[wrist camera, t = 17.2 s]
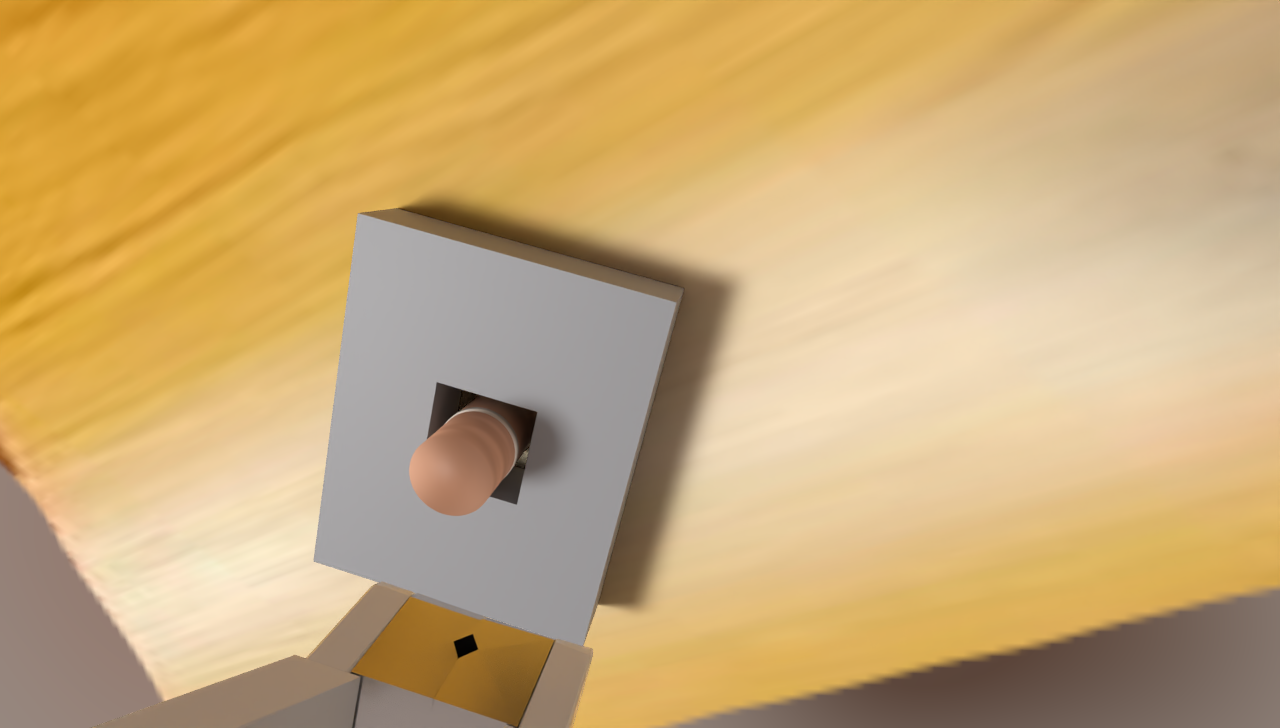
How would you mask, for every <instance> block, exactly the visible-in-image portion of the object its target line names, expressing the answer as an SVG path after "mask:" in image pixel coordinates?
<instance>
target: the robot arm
mask: <svg viewBox="0 0 1280 728" xmlns="http://www.w3.org/2000/svg"><path fill="white" fill-rule="evenodd" d="M592 657H593V649H591V648H588V647H584V646H581V645H578V644H574V643H571V642H567V641H564V640H561V639H554V638H550V637H547V636H544V635H541V634H538V633H535V632H531V631H528V630H525V629H522V628H519V627H516V626H512V625H509V624H506V623H503V622H500V621H497V620H493V619H490V618H487V617H485V616H482V615H479V614H476V613H474V612H471V611H468V610H465V609H462V608H459V607H456V606H453V605H451V604H448V603H445V602H442V601H439V600H436V599H433V598H431V597H428V596H425V595H422V594H419V593H416V594H415V593H414V592H412V591H409V590H406V589H403V588H400V587H397V586H394V585H391V584H388V583H385V582H382V581H381V582H379V583H377V584H375V585H373V586H371V588H370V589H369V590H368V591H367V592H366V593H365V594H364V595H363V596H362V597H361V598H360V600H359V601H358V602H357V603H356V604H355V605H354V606H353V607H352V608H351V609H350V611H349V612H348V613H347V614H346V615H345V616H344V617H343V618H342V619H341V620H340V622H339V623H338V624H337V625H336V626H335V627H334V628H333V629H332V630H331V631H330V633H329V634H328V635H327V636H326V637H325V638H324V639H323V640H322V641H321V642H320V643H319V645H318V646H317V647H316V648H315V649H314V650H313V651H312V652H311V653H310V654H309V656H308V657H307V658H303V657H300V656H297V655H293V656H291V657H288V658H285V659H282V660H279V661H277V662H274V663H271V664H268V665H265V666H263V667H260V668H257V669H254V670H251V671H248V672H246V673H243V674H240V675H237V676H234V677H232V678H229V679H226V680H223V681H220V682H218V683H215V684H212V685H209V686H206V687H204V688H201V689H198V690H195V691H192V692H190V693H187V694H184V695H181V696H178V697H176V698H173V699H170V700H167V701H164V702H161V703H159V704H156V705H153V706H150V707H148V708H145V709H142V710H139V711H136V712H133V713H131V714H128V715H125V716H122V717H119V718H117V719H114V720H111V721H108V722H105V723H103V724H100V725H97V726H94V727H91V728H572V727H573V724H574V720H575V717H576V713H577V710H578V706H579V703H580V699H581V696H582V692H583V689H584V685H585V682H586V678H587V674H588V671H589V667H590V664H591V660H592Z"/></svg>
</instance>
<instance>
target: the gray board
mask: <svg viewBox="0 0 1280 728" xmlns="http://www.w3.org/2000/svg"><path fill="white" fill-rule="evenodd" d="M683 292H684V288H681V287H678V286H674V285H671V284H667V283H663V282H660V281H656V280H653V279H649V278H645V277H642V276H638V275H635V274H631V273H628V272H624V271H620V270H617V269H613V268H610V267H606V266H602V265H599V264H595V263H592V262H588V261H584V260H581V259H577V258H574V257H570V256H566V255H563V254H559V253H556V252H552V251H549V250H545V249H541V248H538V247H534V246H531V245H527V244H523V243H520V242H516V241H513V240H509V239H505V238H502V237H498V236H495V235H491V234H488V233H484V232H480V231H477V230H473V229H470V228H466V227H462V226H459V225H455V224H452V223H448V222H444V221H441V220H437V219H434V218H430V217H427V216H423V215H419V214H416V213H412V212H409V211H405V210H401V209H398V208H396V209H388V210H380V211H372V212H364V213H358V217H357V225H356V233H355V241H354V248H353V256H352V264H351V272H350V280H349V288H348V295H347V303H346V311H345V319H344V327H343V335H342V343H341V350H340V358H339V366H338V374H337V382H336V390H335V398H334V405H333V413H332V421H331V429H330V437H329V445H328V452H327V460H326V468H325V476H324V484H323V492H322V500H321V507H320V515H319V523H318V531H317V539H316V547H315V555H314V562H317V563H320V564H323V565H326V566H329V567H333V568H336V569H339V570H342V571H345V572H348V573H351V574H354V575H358V576H361V577H364V578H367V579H370V580H373V581H376V582H381V581H382V582H385V583H388V584H391V585H394V586H397V587H400V588H403V589H406V590H409V591H412V592H414V593H415V594H416V593H419V594H422V595H425V596H428V597H431V598H433V599H436V600H439V601H442V602H445V603H448V604H451V605H453V606H456V607H459V608H462V609H465V610H468V611H471V612H474V613H476V614H479V615H482V616H485V617H488V618H491V619H495V620H498V621H501V622H504V623H507V624H510V625H513V626H516V627H519V628H523V629H526V630H529V631H532V632H535V633H538V634H541V635H544V636H547V637H551V638H554V639H561V640H564V641H567V642H571V643H574V644H578V645H581V646H583V645H584V642H585V639H586V637H587V634H588V631H589V628H590V625H591V622H592V620H593V617H594V614H595V611H596V608H597V605H598V602H599V598H600V595H601V591H602V587H603V584H604V580H605V576H606V573H607V569H608V565H609V562H610V558H611V554H612V551H613V547H614V544H615V540H616V536H617V533H618V529H619V525H620V522H621V518H622V514H623V511H624V507H625V503H626V500H627V496H628V492H629V489H630V485H631V481H632V478H633V474H634V470H635V467H636V463H637V460H638V456H639V452H640V449H641V445H642V441H643V438H644V434H645V430H646V427H647V423H648V419H649V416H650V412H651V408H652V405H653V401H654V397H655V394H656V390H657V386H658V383H659V379H660V376H661V372H662V368H663V365H664V361H665V357H666V354H667V350H668V346H669V343H670V339H671V335H672V332H673V328H674V324H675V321H676V317H677V313H678V310H679V306H680V302H681V299H682V295H683ZM461 390H465V391H468V392H472V393H475V394H479V395H482V396H485V397H489V398H492V399H495V400H499V401H502V402H506V403H509V404H512V405H516V406H519V407H522V408H526V409H529V410H533V411H536V412H537V417H536V421H535V426H534V430H533V435H532V439H531V444H530V448H529V453H528V457H527V462H526V466H525V469H522V468H519V467H516V466H514V467H513V468H512V470H511V471H510V472H509V474H508V475H507V476H506V477H505V478H504V479H503V480H502V481H501V482H500V484H499V485H498V486H497V488H496V489H495V490H494V491H493V493H492V494H491V495H490V497H489V498H488V499H487V501H486V502H485V503H484V504H483V505H482V506H481V507H480V508H479V509H478V510H476V511H474V512H472V513H470V514H467V515H462V516H450V515H445V514H442V513H439V512H437V511H435V510H433V509H431V508H430V507H428V506H427V505H426V504H425V503H424V502H423V501H422V500H421V499H420V498H419V497H418V495H417V494H416V492H415V491H414V489H413V486H412V484H411V480H410V475H409V466H410V461H411V458H412V456H413V454H414V452H415V450H416V449H417V448H418V447H419V446H420V445H421V444H422V443H423V442H425V441H426V440H427V439H428V438H429V437H430V436H432V435H433V434H434V433H435V432H436V431H437V430H439V429H440V428H441V427H442V426H443V425H444V424H445V423H446V422H447V421H448V420H449V419H450V418H451V417H452V416H453V415H454V414H456V413H457V412H458V407H459V401H460V396H461Z"/></svg>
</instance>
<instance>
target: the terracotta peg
mask: <svg viewBox="0 0 1280 728" xmlns="http://www.w3.org/2000/svg"><path fill="white" fill-rule="evenodd" d="M536 417H537V412H536V411H533V410H529V409H526V408H522V407H519V406H516V405H512V404H509V403H506V402H502V401H499V400H495V399H492V398H489V397H485V396H482V395H478V396H477V397H476V398H475V399H473V400H472V401H471V402H470V403H469V404H468V405H466V406H465V407H464V408H463V409H462V410H461V411H459V412H457V413H456V414H454V415H453V416H452V417H451V418H450V419H449V420H448V421H447V422H446V423H445V424H444V425H443V426H442V427H441V428H440V429H439V430H437V431H436V432H435V433H434V434H433V435H432V436H430V437H429V438H428V439H427V440H426V441H425V442H423V443H422V444H421V445H420V446H419V447H418V448H417V449H416V450H415V452H414V454H413V456H412V458H411V461H410V466H409V475H410V480H411V484H412V486H413V489H414V491H415V492H416V494H417V495H418V497H419V498H420V499H421V500H422V501H423V502H424V503H425V504H426V505H427V506H428V507H430V508H431V509H433V510H435V511H437V512H439V513H442V514H445V515H450V516H462V515H467V514H470V513H472V512H474V511H476V510H478V509H479V508H480V507H481V506H482V505H483V504H484V503H485V502H486V501H487V499H488V498H489V497H490V495H491V494H492V493H493V491H494V490H495V489H496V488H497V486H498V485H499V484H500V482H501V481H502V480H503V479H504V478H505V477H506V476H507V475H508V474H509V472H510V471H511V470H512V468H513V467H514V465H515V463H516V462H517V460H518V459H519V458H520V457H521V455H522V454H523V453H524V451H525V450H526V449H527V448H528V446H529V445H530V444H531V439H532V435H533V430H534V426H535V421H536Z"/></svg>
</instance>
